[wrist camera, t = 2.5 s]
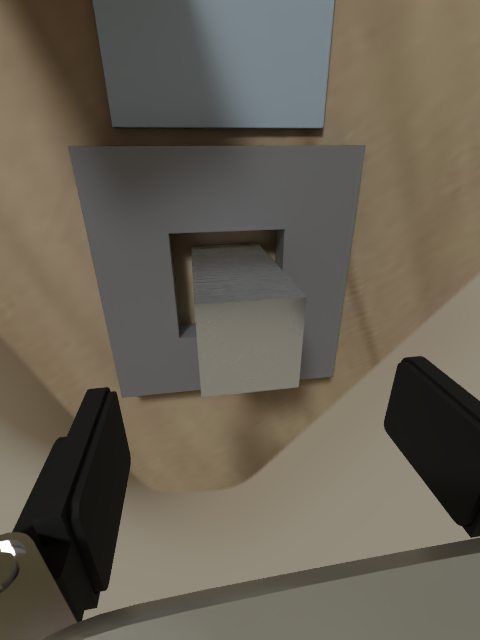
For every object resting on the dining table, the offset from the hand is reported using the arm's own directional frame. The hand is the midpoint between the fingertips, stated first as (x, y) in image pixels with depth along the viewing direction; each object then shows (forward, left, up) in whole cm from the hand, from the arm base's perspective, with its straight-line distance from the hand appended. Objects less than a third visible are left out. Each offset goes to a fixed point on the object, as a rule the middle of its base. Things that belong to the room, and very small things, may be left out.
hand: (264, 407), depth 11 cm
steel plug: (0, 0, -13) cm, 13 cm away
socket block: (0, 0, -13) cm, 13 cm away
